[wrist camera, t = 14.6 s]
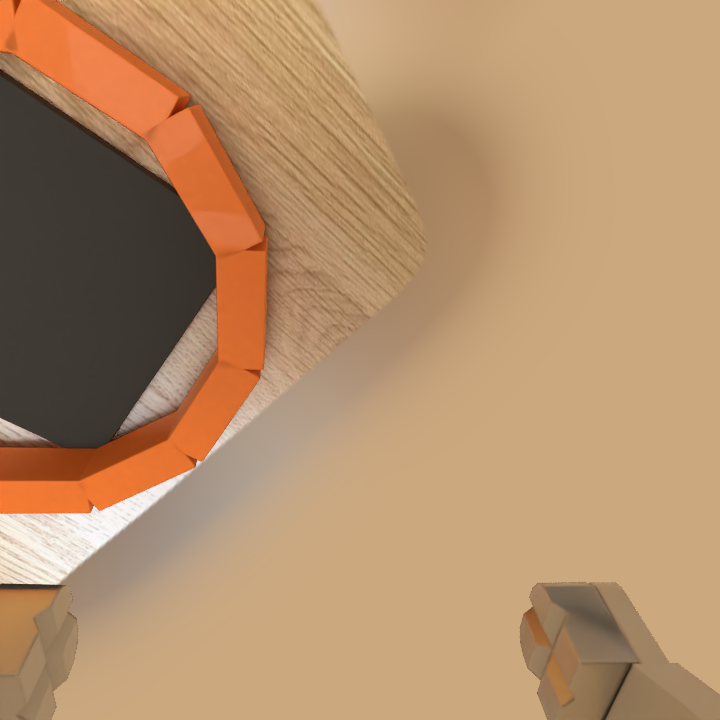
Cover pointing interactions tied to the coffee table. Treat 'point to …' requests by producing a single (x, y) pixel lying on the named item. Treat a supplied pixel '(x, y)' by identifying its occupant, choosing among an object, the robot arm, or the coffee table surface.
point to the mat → (86, 274)
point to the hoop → (216, 222)
